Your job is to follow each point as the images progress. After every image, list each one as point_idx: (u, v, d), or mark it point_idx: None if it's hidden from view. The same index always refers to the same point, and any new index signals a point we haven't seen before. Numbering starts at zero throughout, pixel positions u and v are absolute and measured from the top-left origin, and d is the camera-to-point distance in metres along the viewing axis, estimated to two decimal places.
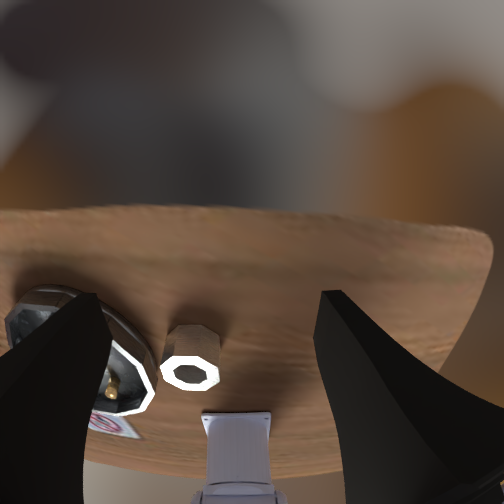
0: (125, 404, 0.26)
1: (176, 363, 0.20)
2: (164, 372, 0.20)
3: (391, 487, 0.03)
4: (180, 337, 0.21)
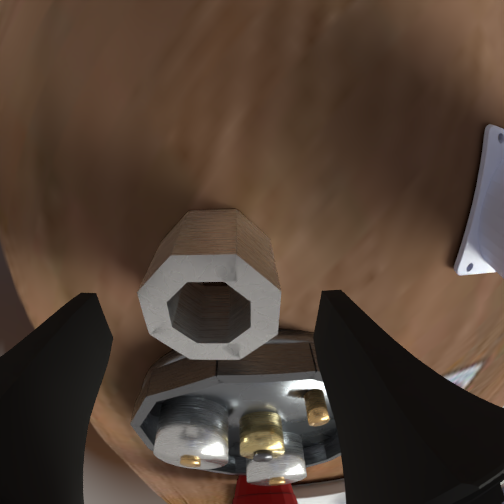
0: None
1: (171, 333, 0.09)
2: (208, 356, 0.10)
3: (391, 487, 0.03)
4: None
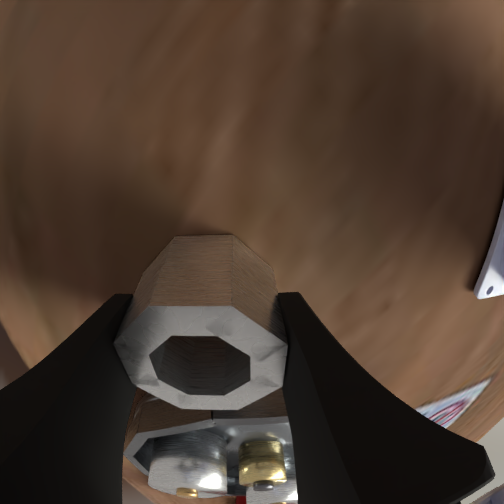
0: None
1: (157, 384, 0.07)
2: (201, 407, 0.08)
3: None
4: None
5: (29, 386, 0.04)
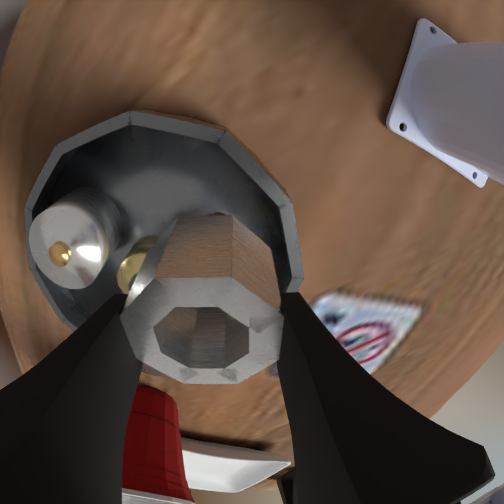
0: (285, 245, 0.15)
1: (160, 357, 0.08)
2: (202, 381, 0.09)
3: None
4: None
5: (29, 386, 0.04)
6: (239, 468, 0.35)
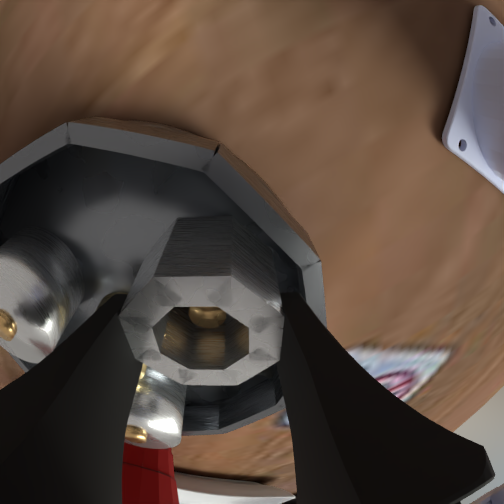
0: None
1: (159, 358, 0.08)
2: (202, 382, 0.09)
3: None
4: None
5: (29, 386, 0.04)
6: None
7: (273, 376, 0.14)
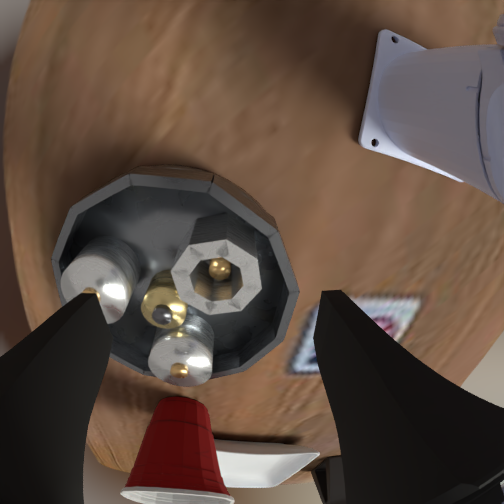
0: None
1: (194, 296, 0.15)
2: (220, 311, 0.16)
3: (391, 487, 0.03)
4: None
5: None
6: (273, 463, 0.37)
7: (273, 320, 0.21)
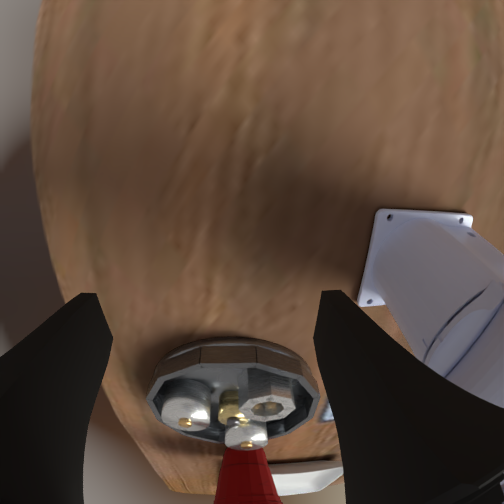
0: None
1: (254, 416, 0.22)
2: (271, 419, 0.22)
3: (391, 487, 0.03)
4: None
5: None
6: (317, 474, 0.44)
7: (305, 403, 0.27)
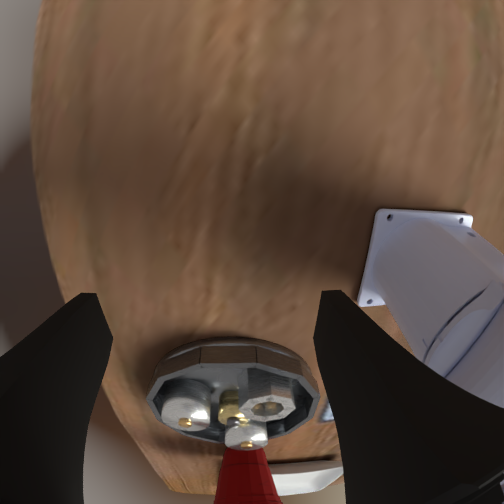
0: None
1: (254, 416, 0.22)
2: (271, 419, 0.22)
3: (391, 487, 0.03)
4: None
5: None
6: (317, 474, 0.44)
7: (305, 403, 0.27)
